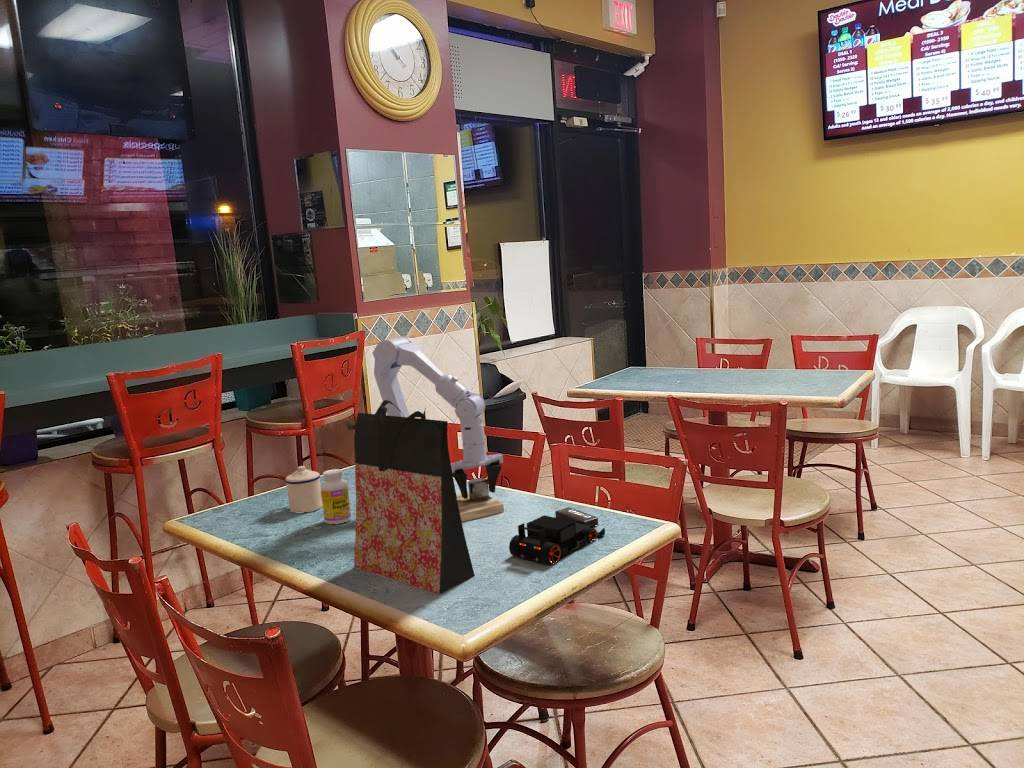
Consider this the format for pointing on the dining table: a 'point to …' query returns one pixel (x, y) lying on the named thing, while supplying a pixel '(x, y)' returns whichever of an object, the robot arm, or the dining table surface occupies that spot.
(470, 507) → the keyhole plate
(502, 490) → the dining table surface
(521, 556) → the toy truck
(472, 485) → the keyhole peg
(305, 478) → the teacup with lid
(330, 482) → the supplement bottle
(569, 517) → the multiport hub
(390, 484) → the gift bag
